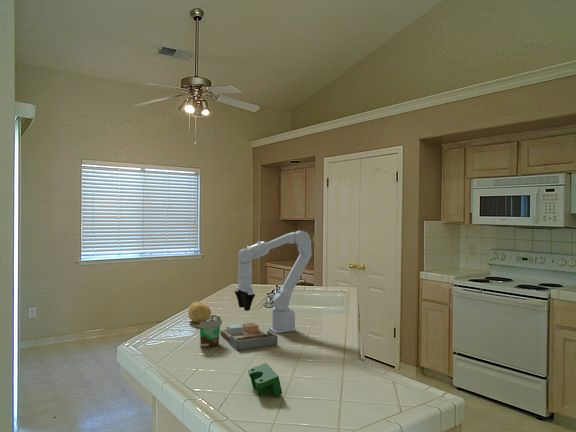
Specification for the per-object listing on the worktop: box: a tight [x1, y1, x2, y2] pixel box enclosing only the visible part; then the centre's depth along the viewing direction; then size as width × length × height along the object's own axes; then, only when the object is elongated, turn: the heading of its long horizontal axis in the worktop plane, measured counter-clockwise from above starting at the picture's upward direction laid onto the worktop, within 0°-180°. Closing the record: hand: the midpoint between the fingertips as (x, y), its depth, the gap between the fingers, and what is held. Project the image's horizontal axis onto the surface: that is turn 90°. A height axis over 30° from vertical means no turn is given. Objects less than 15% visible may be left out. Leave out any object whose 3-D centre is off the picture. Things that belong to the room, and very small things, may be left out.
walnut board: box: [219, 326, 267, 344], centre depth 171 cm, size 15×14×2 cm
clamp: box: [247, 362, 283, 398], centre depth 118 cm, size 12×6×9 cm, turn 14°
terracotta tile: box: [242, 322, 260, 333], centre depth 173 cm, size 5×5×2 cm
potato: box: [188, 301, 212, 324], centre depth 194 cm, size 10×14×10 cm
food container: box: [198, 314, 223, 349], centre depth 160 cm, size 12×6×10 cm, turn 168°
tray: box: [229, 330, 278, 351], centre depth 161 cm, size 16×8×4 cm, turn 116°
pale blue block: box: [226, 323, 243, 335], centre depth 170 cm, size 5×5×2 cm
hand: (244, 308), depth 180 cm, fingers open, 6 cm apart
